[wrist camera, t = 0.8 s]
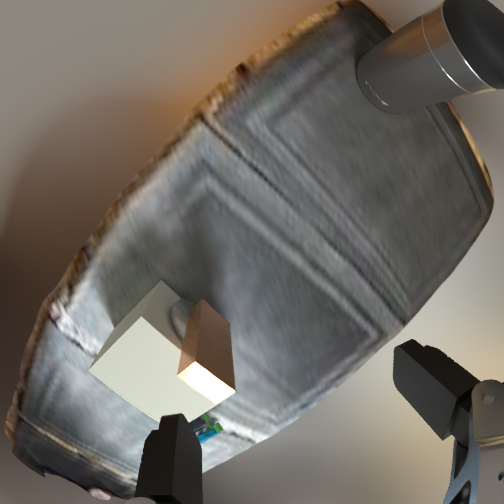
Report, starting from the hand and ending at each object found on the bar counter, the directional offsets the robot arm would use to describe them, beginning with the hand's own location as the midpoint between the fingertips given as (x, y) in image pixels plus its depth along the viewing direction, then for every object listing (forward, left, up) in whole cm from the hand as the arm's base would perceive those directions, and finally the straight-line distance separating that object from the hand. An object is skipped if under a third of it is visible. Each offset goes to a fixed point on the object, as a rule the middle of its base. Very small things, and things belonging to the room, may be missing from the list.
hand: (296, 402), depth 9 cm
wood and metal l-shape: (+11, +2, -23) cm, 25 cm away
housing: (+15, +2, -24) cm, 28 cm away
